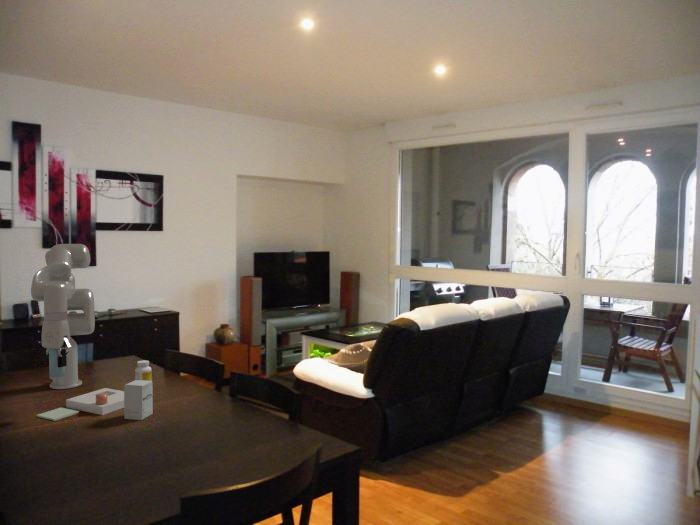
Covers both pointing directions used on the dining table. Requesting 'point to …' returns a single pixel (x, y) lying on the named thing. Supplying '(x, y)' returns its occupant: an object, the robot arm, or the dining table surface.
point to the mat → (57, 413)
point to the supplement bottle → (143, 371)
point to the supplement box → (138, 399)
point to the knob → (101, 398)
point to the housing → (89, 401)
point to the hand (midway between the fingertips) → (57, 365)
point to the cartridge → (55, 364)
